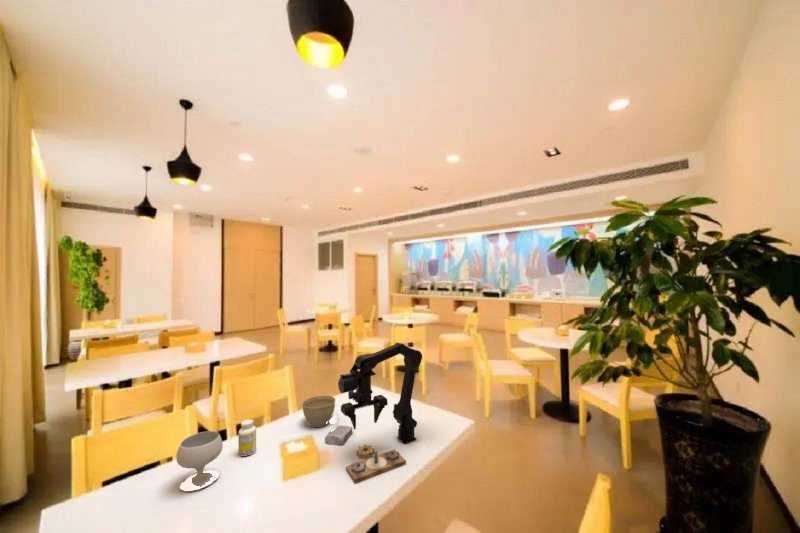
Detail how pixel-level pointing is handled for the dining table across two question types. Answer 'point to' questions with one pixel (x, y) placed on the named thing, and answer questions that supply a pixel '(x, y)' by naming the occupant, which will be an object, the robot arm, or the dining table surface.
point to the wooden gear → (365, 452)
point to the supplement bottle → (247, 438)
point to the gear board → (375, 465)
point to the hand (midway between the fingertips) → (365, 425)
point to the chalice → (199, 454)
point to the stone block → (338, 435)
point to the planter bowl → (318, 410)
